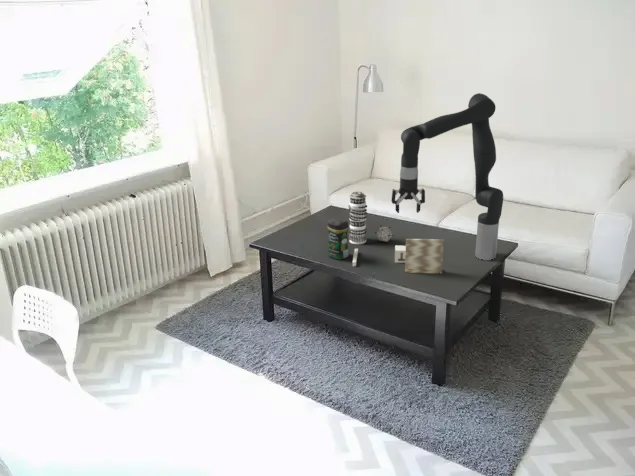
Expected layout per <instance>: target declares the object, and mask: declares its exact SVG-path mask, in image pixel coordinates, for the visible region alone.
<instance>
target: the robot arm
mask: <svg viewBox="0 0 635 476" xmlns="http://www.w3.org/2000/svg"><path fill="white" fill-rule="evenodd" d="M467 106H468V108H465V109H464V110H461V111H457V112H454V113H447V114H445V115H444V114H443V115H440V116H438V117H434V118H433V119H430V120H428V121H426V122H424V123H420V124H416V125H413V126H410V127H407V128H405V130H403V131H402V132H401V134H400V139H401V140H400V141H401V142H402V146H403V147H402V153H401V159H400V170H399V171H400V173H399V189H395V188H392V191H391V203H392V204H393V205H395V209H394V210H395V212H397V214H399V213H400V204H401V203H402V202H403V200H405V201H406V200H407V201H408V200H411V201H412V200H414V201H415V202H416V214H417V213H420V212H421V205H422V204H425V202H426V190H425V189H424V188H420V189H418V184H419V183H418V182H419V168H418V167H419V165H418V164H419V151H420V144H421V141H422V140H425V139H428V140H429V139H433V138H435V137H437V136H439V135H443V134H445V133H447V132H449V131H452V130H455V129H458V128H461V127H464V126H467V125H471V129H472V130H471V131H472V134H471V135H472V149H473V161H474V171H475V172H474V173H475V174H474V175H475V187H474V188H475V189H474V190H475V192H474V193H475V194H474V195H475V201H476V203H477V204H478V205H479V206H481V207H484V208H487V211H486V212H481V213H479V215H478V216H477V227H476V228H477V229H476V241H475V242H476V243H475V253H474V254H475V255H474V256H476V257H477V258H476V257H475V258H476V259H478V258H479V259H478V260H481V259H483V260H482V261H492V260H491V259H493V260H495V259H496V258H497V250H498V247H497V246H498V239H499V238H498V235H499V226H500V219H501V217H502V212H503V211H502V210H503V205H504V193H503V190H501V189H500V188H496V187H493V186H490V184H489V174H490V172H491V171H492V170H493V167H494V166H495V164H496V162H497V149H496V143H495V139H494V135H493V133H492V130H491V126H490V121H489V120H490V118H491V117H493V115H495V111H496V103H495V101H493V99H491V98H490V97H489V96H488V95H487V94H484V93H480V92H479V93H475V94H474V95H472V96H471V97H470V98H469V100H468V105H467ZM398 194H399V196H398V198H397V199H396V196H397V195H398ZM418 194H420V195H421V196H420V198H421V199H419V198H418V197H417V195H418ZM494 258H495V259H494Z"/></svg>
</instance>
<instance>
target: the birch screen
mask: <svg viewBox="0 0 635 476" xmlns="http://www.w3.org/2000/svg"><path fill="white" fill-rule="evenodd" d="M444 241H445V240H444V239H443V238H442V239H440V238H436V239H435V238H405V246H406V254H405V263H404V273H407V274H411V273H412V274H439V273H440V275H442V274H443V262H444V261H443V258H444Z"/></svg>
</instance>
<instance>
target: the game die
mask: <svg viewBox="0 0 635 476" xmlns="http://www.w3.org/2000/svg"><path fill="white" fill-rule="evenodd" d="M391 227H392V226H389V227H386V226H382V225H381V224H380V227H379V229H377V231H376V232H374V233H375V234H376V236H377V238H378V241H377V242H385V243H386V244H389V242H390V239H392V237H394V236H395V235H393V233H392V230H391Z"/></svg>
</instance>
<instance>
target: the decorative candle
mask: <svg viewBox="0 0 635 476" xmlns="http://www.w3.org/2000/svg"><path fill="white" fill-rule="evenodd" d="M366 197H367V195H366V194H365V193H364V192H362V191H354V192H352V193H351V194H350V195H349V204H348V219H349V221H350V222H349V227H348V232H349V234H348V236H349V237H348V239H349V241H348V242H349V243H350V244H354V245H362V244H365V243H366V242H367V224H366V220H367V218H368V216H366V215H367V214H368V213H367V212H368V210H367V208H368V205H367V201H366Z"/></svg>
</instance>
